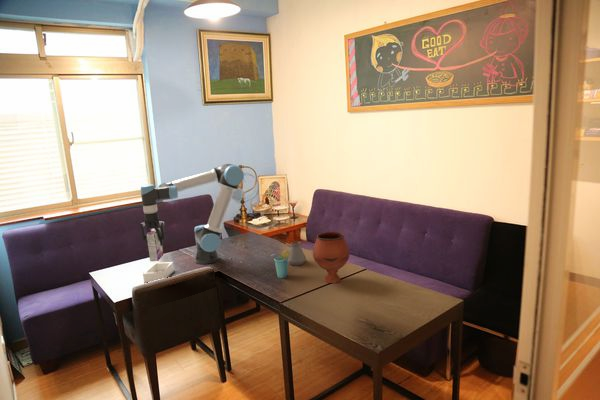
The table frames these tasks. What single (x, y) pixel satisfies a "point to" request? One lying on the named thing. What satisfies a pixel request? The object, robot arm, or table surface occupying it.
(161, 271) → the white open box
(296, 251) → the coffee pot
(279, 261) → the cup
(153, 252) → the candy bar box
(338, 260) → the goblet
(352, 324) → the table surface
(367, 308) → the table surface
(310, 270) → the table surface
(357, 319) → the table surface
